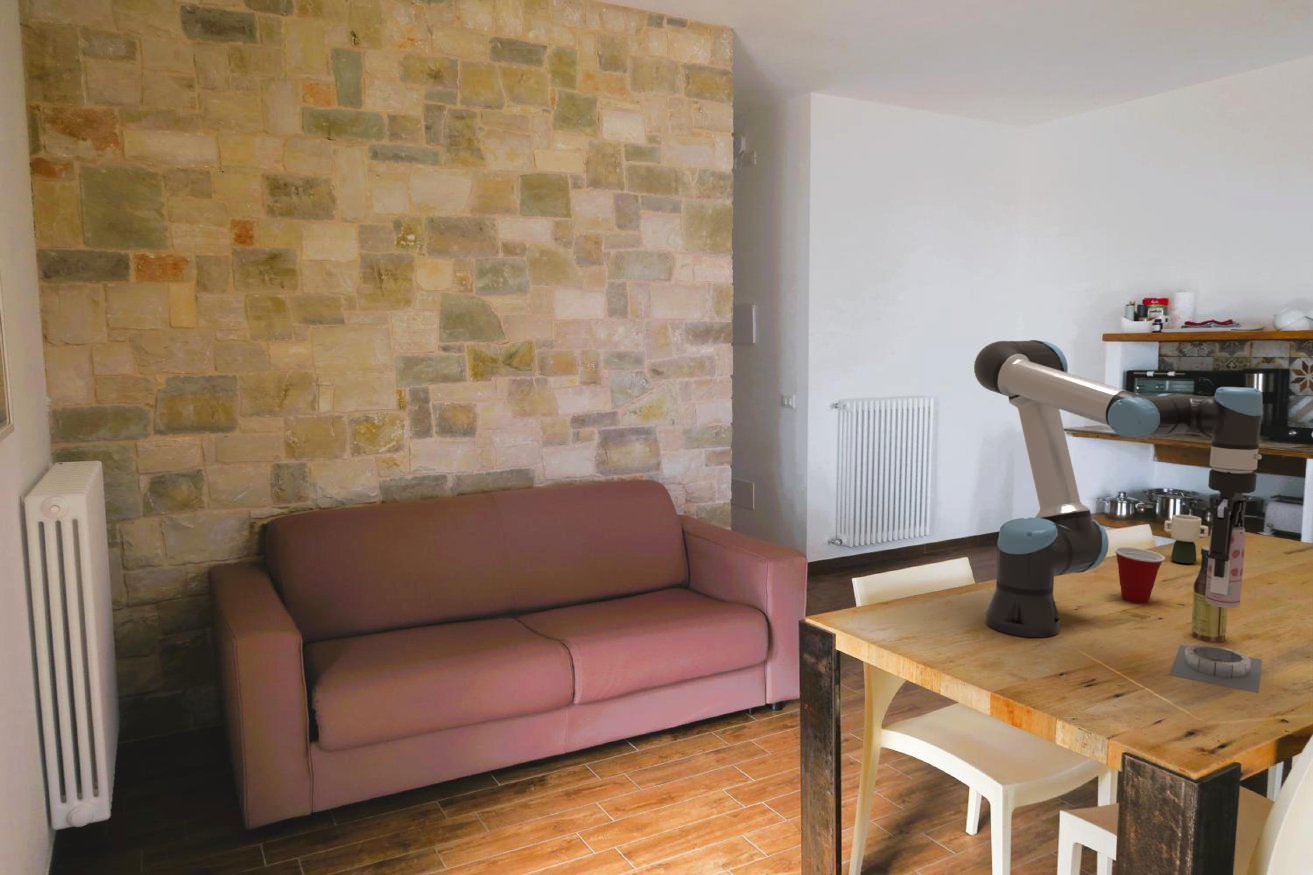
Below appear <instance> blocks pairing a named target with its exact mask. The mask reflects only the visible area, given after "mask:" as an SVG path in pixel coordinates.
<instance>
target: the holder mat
mask: <svg viewBox="0 0 1313 875" xmlns="http://www.w3.org/2000/svg"><path fill="white" fill-rule="evenodd" d="M1188 647H1189V645H1186V644H1185V645H1183V644H1180V645H1179V647H1178V651H1177V653H1176V656H1175V658H1174V660H1173V664H1172V667H1171V669H1170V672H1169V676H1171V677H1176V678H1180V679H1185V680H1191V681H1196V682H1201V683H1205V684H1210V685H1211V684H1212V685H1215V686H1221V687H1224V688H1225V687H1226V688H1231V689H1237V690H1241V691H1246V692H1250V693H1251V692H1252V693H1256V694H1258V693H1259V689H1260V680H1261V670H1262V664H1263V659H1262V658H1257V657H1251V656H1248V657H1249V659H1250V660H1251V665H1250V674H1248V675H1247V676H1245V677H1237V678H1229V677H1220V676H1215V675H1214V676H1213V675H1210V674H1206V673H1202V672H1199V671H1196V670H1194V669H1192V668H1190V667H1188V666H1187V665H1186V663H1185V649H1186V648H1188ZM1214 661H1218V660H1214ZM1220 662H1222V661H1220Z"/></svg>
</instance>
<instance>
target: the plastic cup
mask: <svg viewBox="0 0 1313 875" xmlns="http://www.w3.org/2000/svg"><path fill="white" fill-rule="evenodd" d="M1114 552H1115V555H1116V560H1117V561H1116V562H1117V566H1118V578H1119V586H1120V595H1121V598H1122V600H1123V601H1125V602H1128V603H1132V604H1147V603H1149V602H1150V599H1151V594H1152V591H1153V589H1154V586H1155V582H1156V578H1157V575H1158V572H1159V570H1160V566H1161V565H1162V563H1163V562H1165V560H1166V558H1165V556H1164V555H1162V554H1161V553H1158V552H1155V551H1152V550H1150V549H1149V550H1148V549H1145V548H1138V547H1130V546H1119V547H1115V548H1114Z"/></svg>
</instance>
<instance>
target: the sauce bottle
mask: <svg viewBox="0 0 1313 875" xmlns="http://www.w3.org/2000/svg"><path fill="white" fill-rule="evenodd" d="M1200 554H1201V564H1200V569H1199V570H1198V574H1197V577H1196V579H1195V581H1194V582H1193V586H1192V589H1193V590H1192V611H1191V612H1192V614H1191V632H1192V633H1191V635H1192V637H1193V638H1195V639H1197V640H1200V641H1203V642H1210V643H1222V642H1225V641H1226V634H1227V624H1228V623H1227V621H1228V620H1227V618H1228V608H1224V607H1218V606H1214V605H1211V604H1209V603H1207V601H1206V600H1205V592H1206V580H1207V568H1208V555H1209V546H1207V545H1205V546H1202V547H1201V548H1200Z"/></svg>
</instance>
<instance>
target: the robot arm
mask: <svg viewBox="0 0 1313 875" xmlns="http://www.w3.org/2000/svg"><path fill="white" fill-rule="evenodd" d="M973 365H974V366H973V369H974V372H973V373H974V375H975V378H976V380H977V382H978V384H980V385H981V386H982V387H983V388H985V389H986V390H988V391H990V392H994V393H997V394H999V395H1003V396H1005V397H1008V401H1009V402H1008V403H1009V404H1011V405H1012V406H1014V407H1015V408H1017V410H1018V414H1019V415H1018V416H1019V419H1020V424H1021V428H1022V432H1023V436H1024V442H1025V446H1026V451H1027V454H1028V460H1029V465H1030V468H1031V469H1030V470H1031V474H1032V479H1033V482H1034V488H1035V491H1036V492H1035V493H1036V496H1037V501H1038V504H1039V511H1038V513H1037V514H1036V516H1034V517H1027V518H1024V517H1021V518H1013V519H1011V520H1010V519H1009V520H1008V521H1006V522H1004V523H1003V524H1002V525H1001V526H1000V528H999V531H998V532H999V533H998V538H997V543H996V544H997V557H996V558H997V559H996V582H995V584H996V586H995V591H994V592H993V595H992V598H991V600H990V602H989V605H988V608H987V610H986V613H985V623H986V625H987V626H988V627H990V628H991V629H993V630H995V631H998V632H1001V633H1004V634H1008V635H1013V636H1018V637H1025V638H1046V637H1052V636H1056V635H1058V634H1059V633H1060V631H1061V619H1060V616H1059V612H1058V608H1057V605H1056V601H1055V597H1054V585H1055V577H1059V576H1064V575H1069V574H1079V573H1085V572H1086V571H1091V570H1092V569H1093V570H1094V569H1095V568H1097V567H1099V566H1100V564H1102V563H1103V561H1104V559H1105V558H1106V557H1107V555H1108V552H1109V544H1110V543H1109V538H1108V533H1107V531H1106V529H1105V528H1104V526H1103V525H1101V524H1100V522H1098V521H1097V520H1096V519H1093V518H1092V513H1091V510H1090V508H1089V507H1087V506H1086V505H1084V504H1083V503H1082V502H1081V498H1080V495H1079V491H1078V490H1079V489H1078V486H1077V481H1076V478H1075V473H1074V468H1073V463H1072V459H1071V454H1070V450H1069V446H1068V443H1067V442H1068V440H1067V437H1066V433H1065V428H1064V425H1063V420H1062V416H1061V411H1064V412H1067V413H1071V414H1074V415H1076V416H1080V417H1081V418H1082V417H1083V418H1084V419H1088V420H1090V421H1094V422H1096V423H1099V424H1102V425H1106V426H1108V427H1110V428H1111V429H1112V430H1113V432H1114V433H1115V434H1117V435H1118V436H1120V437H1124V438H1134V439H1135V438H1136V439H1139V438H1145V437H1153V436H1161V435H1162V436H1163V435H1165V436H1166V435H1176V434H1177V435H1178V434H1190V435H1191V434H1192V435H1202V436H1210V437H1211V447H1210V457H1209V466H1210V467H1211V469H1210V470H1209V473H1208V485H1207V486H1208V488H1209V489H1211V490H1212V491H1218V492H1219V498H1218V499H1216V501H1215V504H1214V505H1213V507H1212V516H1213V517H1212V526H1211V529H1212V536H1211V547H1210V554H1209V555H1208V558H1211V559H1213V561H1212V573H1211V586H1210V592H1213V593H1218V594H1224V595H1227V594H1228V582H1229V570H1230V560H1228V559H1229V552H1230V546H1231V539H1232V530H1233V527H1239V526H1240V527H1243V528H1244V529H1245V518H1246V516H1245V515H1246V507H1247V502H1248V500H1247V498H1245V497H1243V494H1252V493H1254V492H1256V488H1257V486H1256V485H1257V478H1258V476H1257V475H1258V474H1257V473H1256V472H1255V470H1257V469H1258V462H1259V461H1258V460H1261V459H1262V458H1263V457H1262V454H1259V447H1260V435H1261V426H1262V425H1261V424H1262V419H1263V418H1262V416H1263V415H1264V411H1263V393H1262V391H1261V390H1260V389H1258V388H1254V387H1240V386H1239V387H1237V386H1220V387H1218V388H1217V389H1216V390H1215V393H1214V396H1213V395H1212V396H1204V395H1193V394H1182V393H1177V392H1176V393H1175V392H1174V393H1160V394H1158V395H1154V396H1153V395H1151V396H1147V395H1142V394H1139V393H1135V392H1133V391H1128V390H1125V389H1122V388H1120V387H1117V386H1113V385H1110V384H1105V383H1103V382H1100V381H1099V382H1098V381H1095V380H1092V379H1089V378H1086V377H1083V376H1079V375H1076V374H1072V373H1069V372H1068V370H1069V369H1068V361H1067V358H1066V356H1065V354H1064V353H1063V351H1062V350H1061V348H1059V347H1058V346H1057V345H1055V344H1054V343H1052V342H1049V341H1045V340H1044V341H1043V340H1038V339H1030V340H999V341H995V342H991V343H990V344H989V343H988V344H987V345H985V346H984V347H983V348H982V349H981V350H980V351H979V352H978V353H977V356H976V357H975V360H974V364H973ZM1060 410H1061V411H1060Z"/></svg>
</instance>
